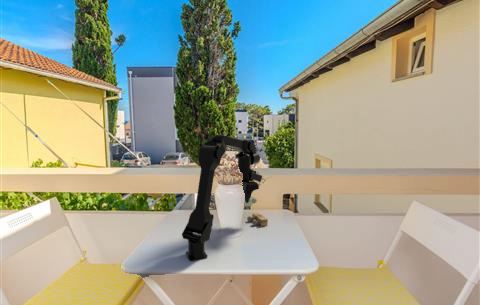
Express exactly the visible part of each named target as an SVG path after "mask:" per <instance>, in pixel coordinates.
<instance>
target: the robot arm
mask: <svg viewBox="0 0 480 305" xmlns="http://www.w3.org/2000/svg"><path fill="white" fill-rule="evenodd" d="M226 147H229V148H234V150H235V151H236V152H238V153H237V154H235V158H236V159H237V168H238V167H239V169H240V172H242V173H243V180H242V182H243V183H242V184H243V185H242V186H243V190H244V193H245V202H246V203H248V202H249V199H250V198H251V197H252V194H253V192H254V191H256V190H259V189H260V184H259V183H262V179H263V175H262V174H259V173H257V170H255V169H254V170H253V169H252V168H251V167H252V166H253V165H256V164H259V163H260V161H261V155H260V154H259V152H258V150H257V149H256V147H255V145H254V142H253V140H252V139H249V138H236V137H232V136H230V135H229V136H228V135H227V134H215V135H214V136H213V137H212V138H211V139H209V140H208V141H206V142H204V144H203V145H202V146H201V147H199V149H198V153H197V154H198V156H197V162H198V164H199V167H200V174H199V182H198V188H197V195H196V202H195V207H194V209H193V210H192V212H191V213H190V215H189V219H188V222H187V224H186V225H185V227H184V230H183V231H182V233H181V236H182V239H184V240H187V242H188V243H187V244H188V249H187V250H186V251H185V255H186V257H187V259H188V260H189V261H196V260H202V259H207V258H208V254H207V252H206V251H205V242H207V241H209V240H210V238H211V233H212V227H213V226H214V225H213V223H214V214H212V213H211V212H210V206H211V198H212V191H213V183H214V177H215V171H216V169H217V168H218V167H219V165H221V160H222V157H223V156H224V154H226V152H227V151H226V150H227V148H226Z"/></svg>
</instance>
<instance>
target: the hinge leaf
mask: <svg viewBox="0 0 480 305" xmlns="http://www.w3.org/2000/svg"><path fill="white" fill-rule="evenodd" d="M257 202H258V201H257V198H255V197H253V196H250V199H249V202H248V203H246V202H245V206H244V207H249V206H253V204H256V203H257Z"/></svg>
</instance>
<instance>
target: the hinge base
mask: <svg viewBox="0 0 480 305" xmlns="http://www.w3.org/2000/svg"><path fill="white" fill-rule="evenodd" d="M251 214H252V215H249V216H247V221H248V223H249V222H250V223H251V224H252V225H253V227H254V226H255V227H256V226H260V227H266V226H267V227H268V219H269V218H266V216H263V215H262V214H261V213H259V212H253V213H251Z"/></svg>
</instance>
